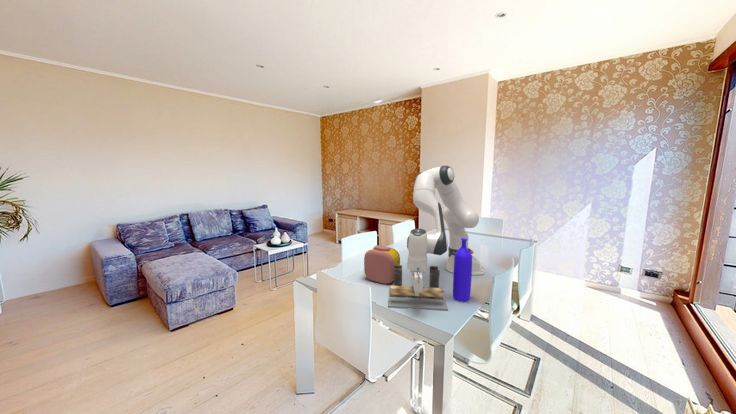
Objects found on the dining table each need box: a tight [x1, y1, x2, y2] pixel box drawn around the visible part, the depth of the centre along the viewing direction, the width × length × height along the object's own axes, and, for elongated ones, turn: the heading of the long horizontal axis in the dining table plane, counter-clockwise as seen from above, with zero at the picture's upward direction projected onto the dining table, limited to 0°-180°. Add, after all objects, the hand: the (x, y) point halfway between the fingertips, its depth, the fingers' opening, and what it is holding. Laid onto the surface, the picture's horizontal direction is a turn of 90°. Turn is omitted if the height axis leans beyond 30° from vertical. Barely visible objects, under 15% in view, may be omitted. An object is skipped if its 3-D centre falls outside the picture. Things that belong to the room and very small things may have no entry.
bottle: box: [452, 238, 473, 303], centre depth 132 cm, size 8×8×30 cm
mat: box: [387, 297, 449, 311], centre depth 128 cm, size 27×8×1 cm, turn 84°
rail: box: [389, 285, 444, 298], centre depth 128 cm, size 24×3×3 cm, turn 83°
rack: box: [389, 264, 444, 300], centre depth 138 cm, size 26×8×14 cm, turn 84°
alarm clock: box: [363, 244, 401, 285], centre depth 155 cm, size 18×11×19 cm, turn 61°
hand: (416, 293), depth 128 cm, fingers closed on rail, 3 cm apart
